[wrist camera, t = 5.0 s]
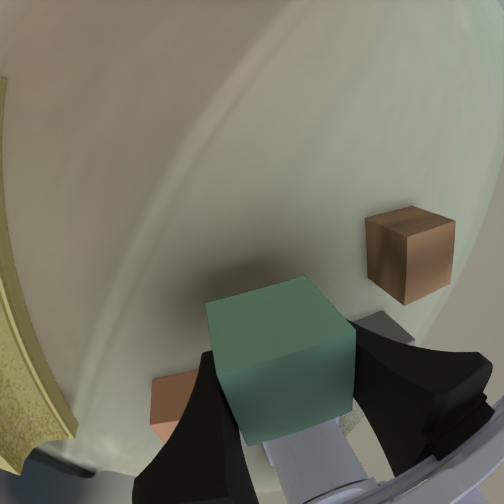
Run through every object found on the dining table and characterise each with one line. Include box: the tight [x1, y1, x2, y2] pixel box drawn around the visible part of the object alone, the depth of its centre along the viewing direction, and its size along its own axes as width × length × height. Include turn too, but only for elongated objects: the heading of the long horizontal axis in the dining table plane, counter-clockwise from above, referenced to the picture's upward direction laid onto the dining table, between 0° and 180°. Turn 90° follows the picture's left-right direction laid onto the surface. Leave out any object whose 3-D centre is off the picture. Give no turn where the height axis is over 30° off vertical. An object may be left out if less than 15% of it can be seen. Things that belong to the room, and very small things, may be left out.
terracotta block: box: [150, 370, 198, 444], centre depth 18 cm, size 4×4×4 cm
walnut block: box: [365, 206, 455, 306], centre depth 17 cm, size 4×4×4 cm
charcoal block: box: [353, 310, 415, 405], centre depth 20 cm, size 4×4×4 cm
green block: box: [205, 276, 356, 447], centre depth 11 cm, size 4×4×4 cm
